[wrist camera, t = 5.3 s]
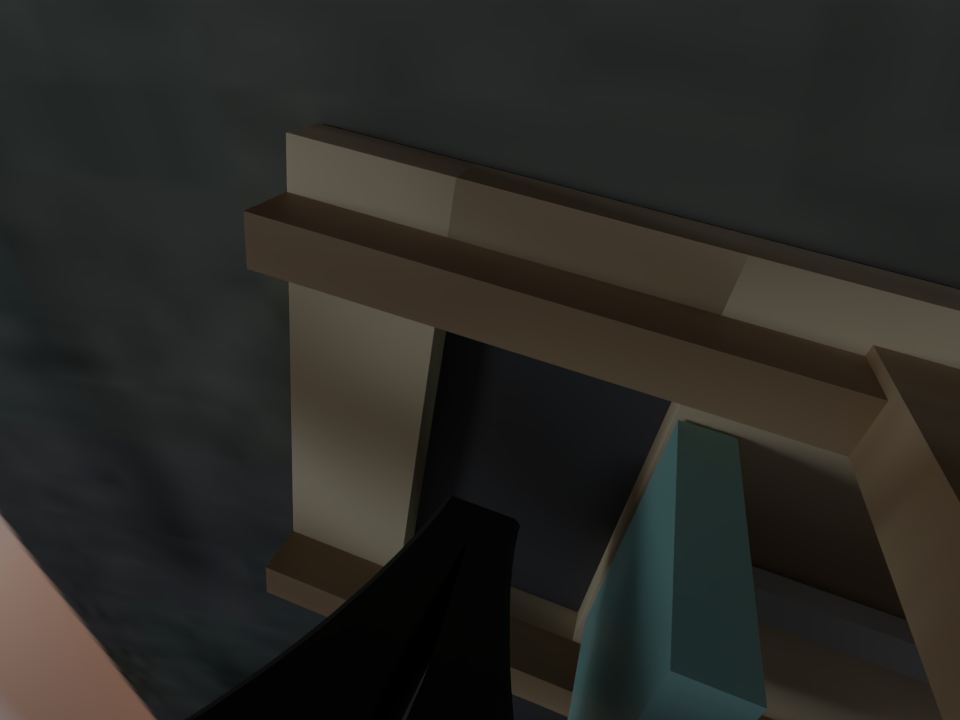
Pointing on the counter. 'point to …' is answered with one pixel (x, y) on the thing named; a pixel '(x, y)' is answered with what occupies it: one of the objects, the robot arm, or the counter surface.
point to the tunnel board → (608, 404)
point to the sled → (706, 603)
